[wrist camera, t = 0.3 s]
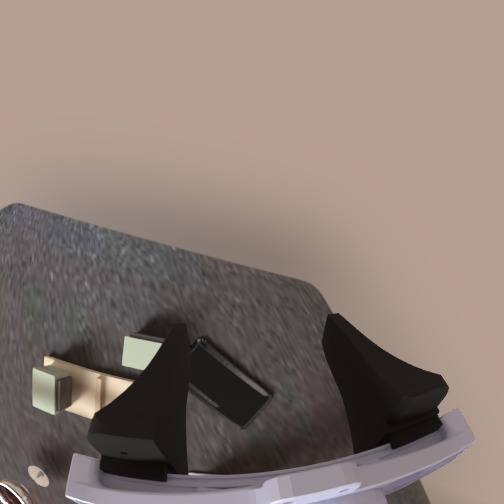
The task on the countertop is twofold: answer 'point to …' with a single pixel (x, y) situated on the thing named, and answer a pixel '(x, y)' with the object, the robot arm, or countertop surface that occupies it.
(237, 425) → the phone
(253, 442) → the countertop surface
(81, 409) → the block holder
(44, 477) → the wineglass
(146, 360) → the block
